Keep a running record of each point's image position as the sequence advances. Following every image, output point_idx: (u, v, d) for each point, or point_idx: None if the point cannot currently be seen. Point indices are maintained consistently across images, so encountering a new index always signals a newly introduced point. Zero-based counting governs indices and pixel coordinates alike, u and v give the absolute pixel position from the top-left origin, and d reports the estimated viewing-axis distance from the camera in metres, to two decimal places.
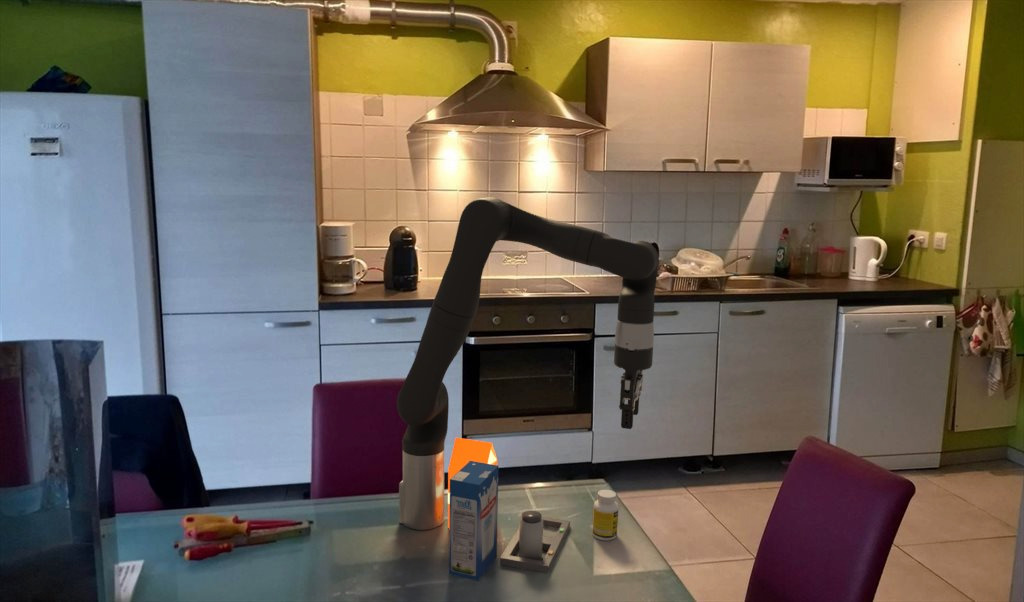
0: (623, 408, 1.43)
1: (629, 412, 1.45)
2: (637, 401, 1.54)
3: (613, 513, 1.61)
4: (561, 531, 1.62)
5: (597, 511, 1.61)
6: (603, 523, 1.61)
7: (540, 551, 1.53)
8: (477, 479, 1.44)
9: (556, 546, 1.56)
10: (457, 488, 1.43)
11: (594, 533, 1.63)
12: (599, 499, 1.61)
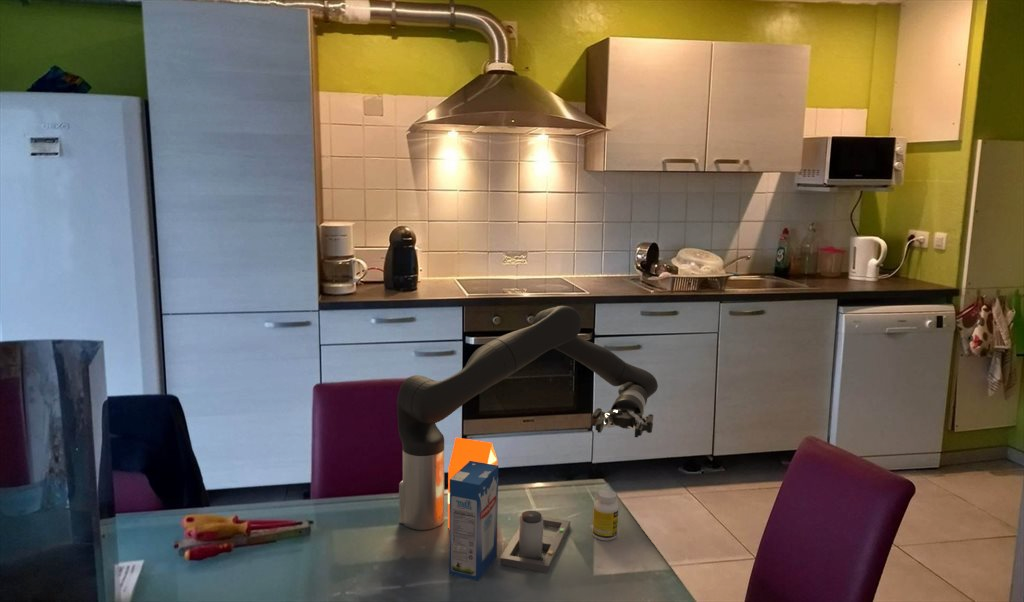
0: (651, 425, 1.73)
1: (643, 430, 1.72)
2: (602, 428, 1.74)
3: (613, 513, 1.61)
4: (561, 531, 1.62)
5: (597, 510, 1.61)
6: (603, 523, 1.61)
7: (540, 551, 1.53)
8: (477, 479, 1.44)
9: (556, 546, 1.56)
10: (457, 488, 1.43)
11: (594, 533, 1.63)
12: (599, 499, 1.61)
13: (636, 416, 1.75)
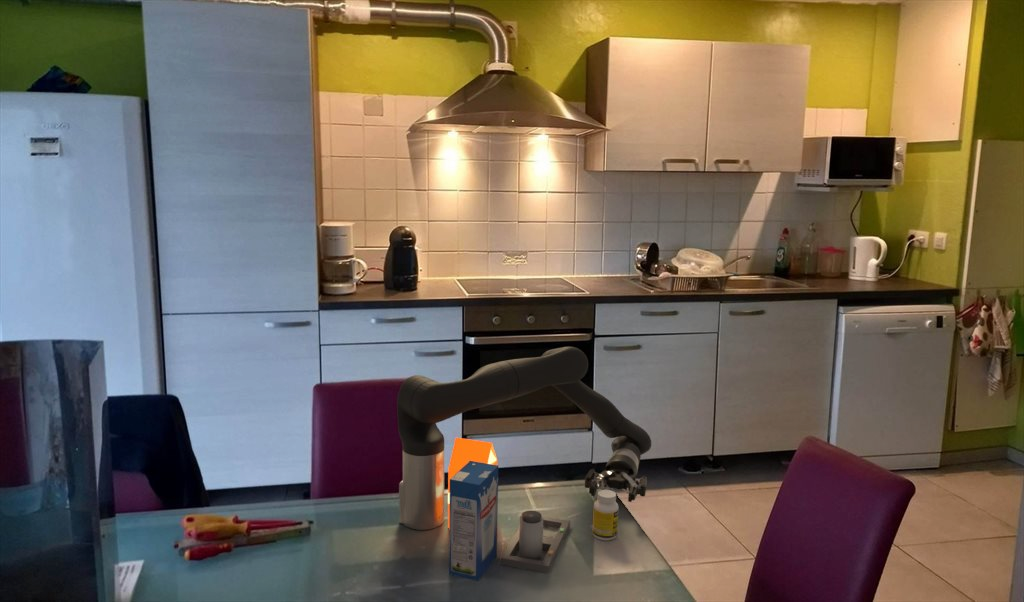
0: (644, 489, 1.73)
1: (636, 494, 1.72)
2: (596, 490, 1.74)
3: (613, 513, 1.61)
4: (561, 531, 1.62)
5: (597, 511, 1.61)
6: (603, 523, 1.61)
7: (540, 551, 1.53)
8: (477, 479, 1.44)
9: (556, 546, 1.56)
10: (457, 488, 1.43)
11: (594, 533, 1.63)
12: (599, 499, 1.61)
13: (630, 479, 1.75)
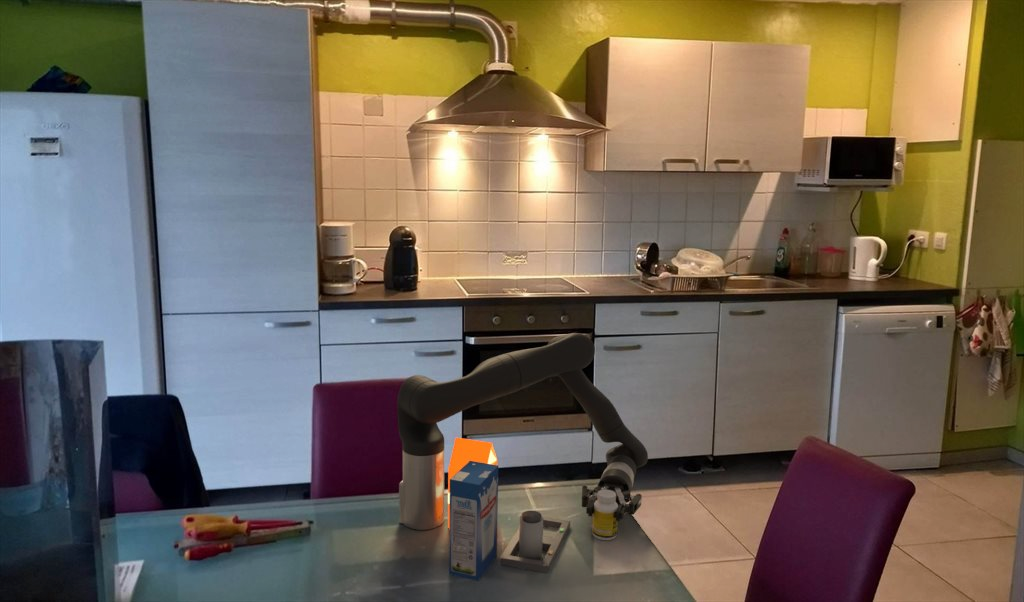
0: (633, 506, 1.63)
1: (625, 512, 1.63)
2: None
3: (613, 513, 1.61)
4: (561, 531, 1.62)
5: (597, 510, 1.61)
6: (603, 522, 1.61)
7: (540, 551, 1.53)
8: (477, 479, 1.44)
9: (556, 546, 1.56)
10: (457, 488, 1.43)
11: (594, 533, 1.63)
12: (599, 499, 1.61)
13: (621, 496, 1.66)
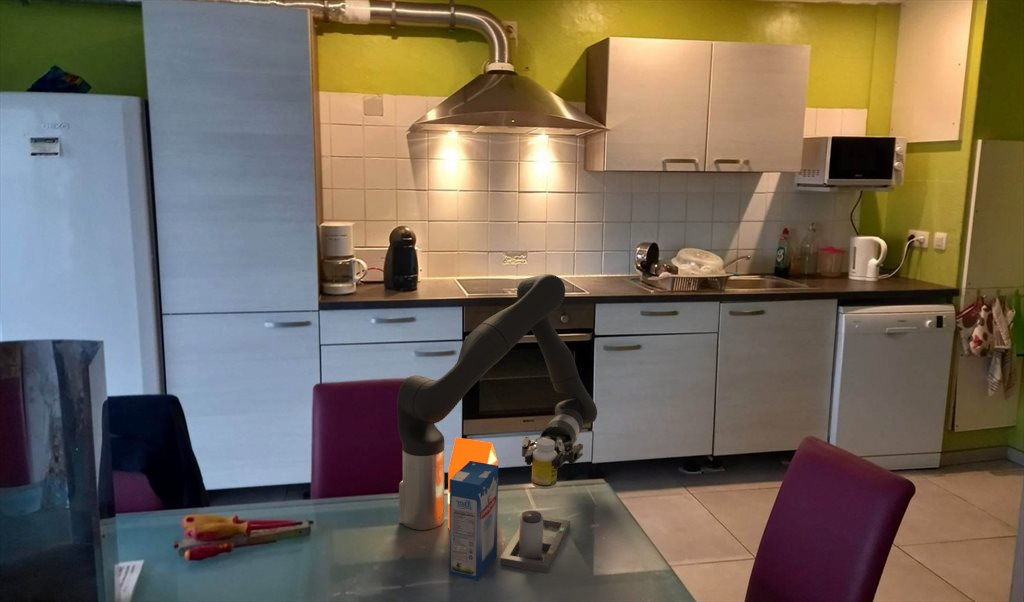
0: (573, 455, 1.61)
1: (564, 461, 1.60)
2: None
3: (551, 461, 1.58)
4: (561, 531, 1.62)
5: (535, 459, 1.59)
6: (541, 471, 1.58)
7: (540, 551, 1.53)
8: (477, 479, 1.44)
9: (556, 546, 1.56)
10: (457, 488, 1.43)
11: (533, 482, 1.60)
12: (537, 447, 1.59)
13: (561, 445, 1.63)
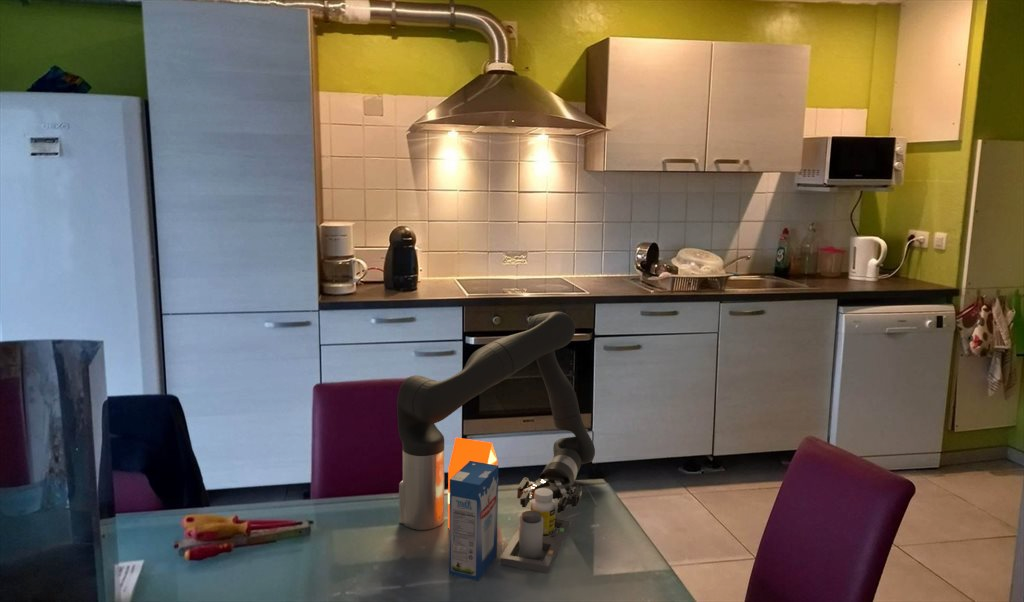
0: (576, 499, 1.63)
1: (567, 504, 1.63)
2: (528, 501, 1.65)
3: (549, 511, 1.61)
4: (561, 531, 1.62)
5: (533, 509, 1.61)
6: None
7: (540, 551, 1.53)
8: (477, 479, 1.44)
9: (556, 546, 1.56)
10: (457, 488, 1.43)
11: None
12: (535, 497, 1.62)
13: (562, 488, 1.66)
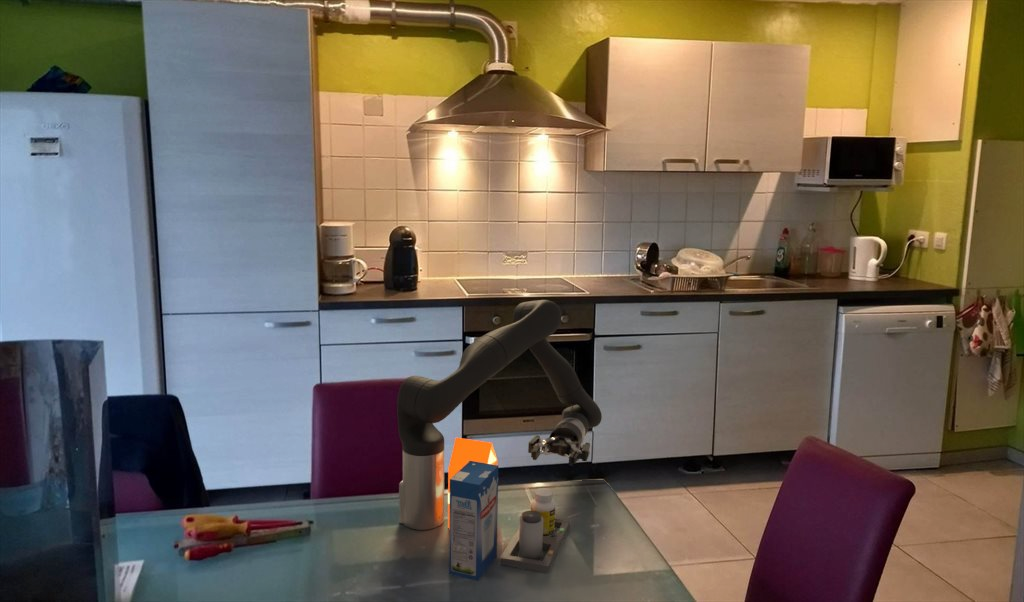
0: (586, 453, 1.74)
1: (578, 458, 1.74)
2: (538, 455, 1.76)
3: (549, 511, 1.61)
4: (561, 531, 1.62)
5: (533, 509, 1.61)
6: None
7: (540, 551, 1.53)
8: (477, 479, 1.44)
9: (556, 546, 1.56)
10: (457, 488, 1.43)
11: None
12: (535, 497, 1.62)
13: (572, 444, 1.77)
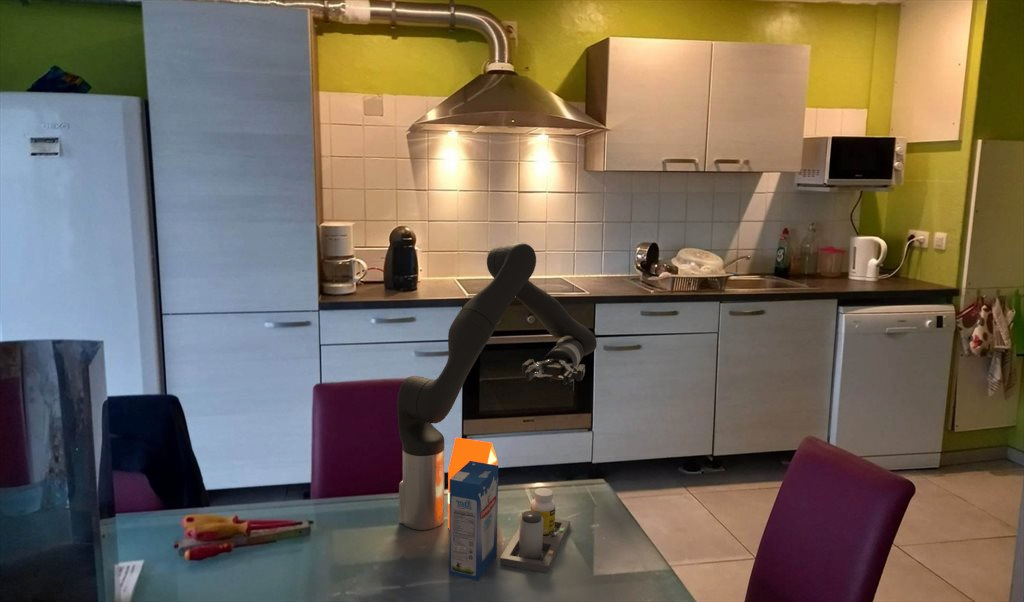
0: (581, 373, 1.72)
1: (572, 378, 1.71)
2: (532, 376, 1.73)
3: (549, 511, 1.61)
4: (561, 531, 1.62)
5: (533, 509, 1.61)
6: None
7: (540, 551, 1.53)
8: (477, 479, 1.44)
9: (556, 546, 1.56)
10: (457, 488, 1.43)
11: None
12: (535, 497, 1.62)
13: (567, 365, 1.74)
